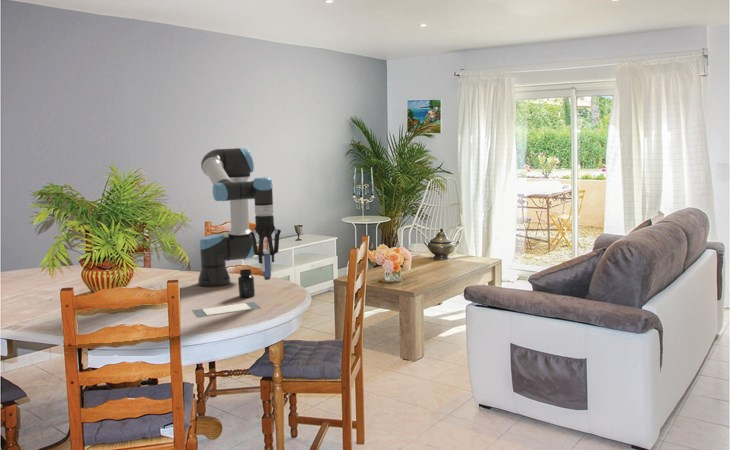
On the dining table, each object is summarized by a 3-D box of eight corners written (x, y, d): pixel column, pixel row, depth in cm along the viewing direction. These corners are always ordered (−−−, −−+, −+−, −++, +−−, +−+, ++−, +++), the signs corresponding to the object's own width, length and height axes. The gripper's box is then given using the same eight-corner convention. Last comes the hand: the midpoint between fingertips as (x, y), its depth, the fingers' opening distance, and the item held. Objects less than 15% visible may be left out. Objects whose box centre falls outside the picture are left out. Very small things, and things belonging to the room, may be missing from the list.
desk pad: (191, 311, 259) (191, 310, 258) (253, 302, 270) (253, 301, 269) (197, 318, 248) (197, 317, 248) (261, 309, 259) (261, 308, 259)
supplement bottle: (257, 295, 281) (256, 269, 280) (250, 299, 275) (248, 272, 273) (244, 294, 284) (242, 268, 282) (236, 298, 277) (234, 271, 276)
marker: (262, 278, 266) (260, 250, 265) (269, 277, 268) (268, 250, 266) (264, 280, 264) (263, 252, 262) (272, 279, 265) (270, 251, 263)
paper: (202, 309, 259) (202, 309, 259) (245, 303, 267) (245, 303, 267) (207, 315, 250) (207, 314, 250) (251, 309, 258) (251, 308, 258)
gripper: (248, 217, 255) (251, 274, 258) (285, 214, 262) (287, 270, 265) (243, 215, 262) (246, 270, 265) (279, 212, 268) (281, 266, 272)
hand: (266, 270), depth 265 cm, fingers closed on marker, 3 cm apart
